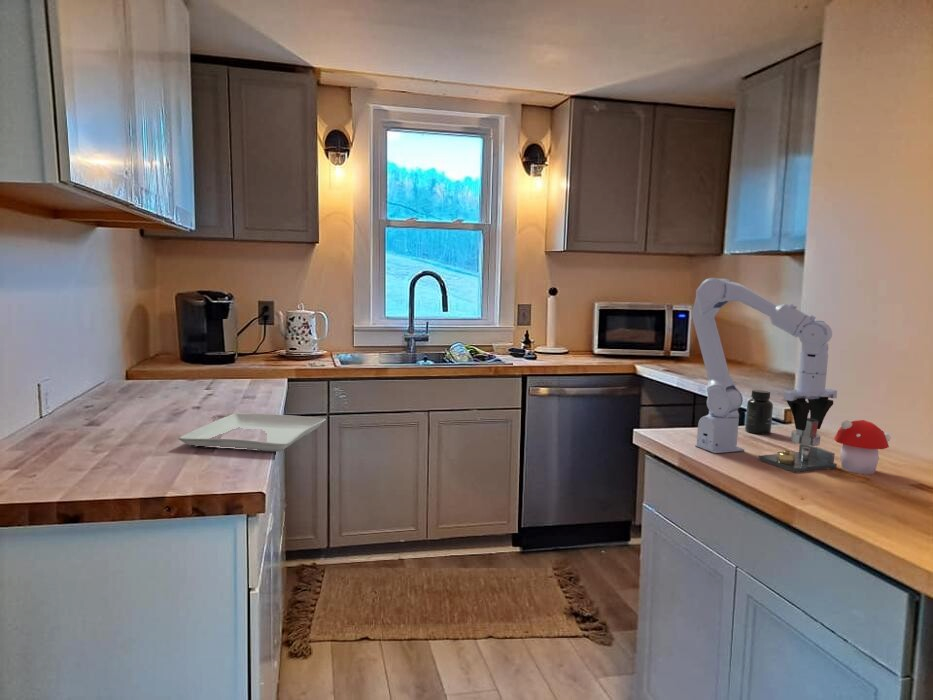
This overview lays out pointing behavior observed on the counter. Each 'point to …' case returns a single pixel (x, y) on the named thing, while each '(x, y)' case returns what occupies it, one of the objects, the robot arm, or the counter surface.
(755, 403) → the supplement bottle
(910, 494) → the counter surface
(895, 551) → the counter surface
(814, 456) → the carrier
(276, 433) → the square plate
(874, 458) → the mushroom
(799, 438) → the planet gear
